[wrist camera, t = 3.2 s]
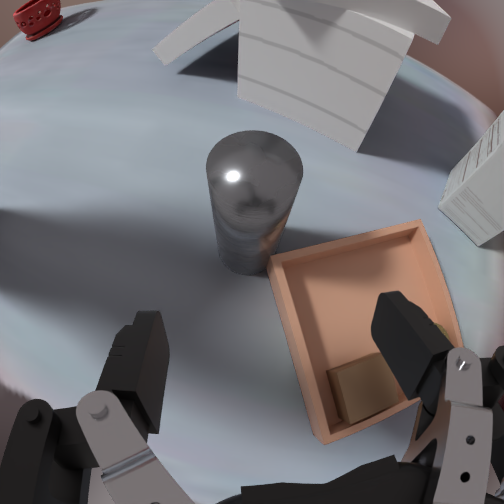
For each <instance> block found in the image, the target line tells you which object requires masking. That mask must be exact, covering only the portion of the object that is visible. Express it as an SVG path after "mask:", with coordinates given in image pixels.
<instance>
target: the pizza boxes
mask: <svg viewBox="0 0 504 504" xmlns="http://www.w3.org/2000/svg"><path fill="white" fill-rule="evenodd" d="M450 20H451V17H450V16H449V15H448V14H447V13H446V12H445V11H444V10H442V9H441V8H440V7H439V6H438V5H437V4H436V3H435V2H434V1H433V0H214V1H212V2H211V3H209V4H208V5H207V6H205V7H204V8H202V9H201V10H200V11H198V12H197V13H195V14H194V15H193V16H191V17H190V18H189V19H188V20H186V21H185V22H184V23H182V24H181V25H180V26H179V27H177V28H176V29H175V30H174V31H173V32H171V33H170V34H169V35H168V36H167V37H165V38H164V39H163V40H162V41H161V42H160V43H159V44H157V45H156V46H155V47H154V48H153V49H152V51H153V52H154V53H155V54H156V55H157V57H158V58H159V59H160V60H161V61H162V63H163V64H164V65H165V66H166V65H168V64H169V63H171V62H172V61H174V60H175V59H176V58H178V57H179V56H181V55H182V54H184V53H185V52H187V51H188V50H190V49H191V48H193V47H195V46H196V45H198V44H199V43H201V42H203V41H204V40H206V39H208V38H209V37H211V36H213V35H214V34H216V33H218V32H220V31H221V30H223V29H225V28H227V27H229V26H230V25H232V24H234V23H236V22H238V21H239V49H238V87H237V97H238V98H241V99H243V100H246V101H249V102H251V103H254V104H256V105H259V106H261V107H263V108H266V109H268V110H271V111H273V112H275V113H278V114H280V115H282V116H284V117H287V118H289V119H291V120H293V121H295V122H298V123H300V124H302V125H304V126H306V127H308V128H310V129H312V130H314V131H316V132H318V133H320V134H322V135H324V136H326V137H328V138H330V139H332V140H334V141H336V142H338V143H340V144H342V145H343V146H345V147H347V148H349V149H351V150H353V151H354V152H357V150H358V148H359V147H360V145H361V143H362V141H363V139H364V137H365V135H366V133H367V131H368V129H369V128H370V126H371V124H372V122H373V120H374V118H375V116H376V114H377V112H378V110H379V108H380V106H381V104H382V102H383V100H384V98H385V96H386V94H387V92H388V90H389V88H390V86H391V84H392V82H393V80H394V78H395V76H396V74H397V72H398V70H399V68H400V66H401V64H402V61H403V59H404V57H405V55H406V53H407V51H408V48H409V47H410V44H411V42H412V40H413V37H414V34H416V35H418V36H421V37H423V38H425V39H427V40H429V41H431V42H433V43H435V44H437V45H438V44H439V42H440V40H441V38H442V36H443V34H444V32H445V30H446V28H447V26H448V24H449V22H450Z"/></svg>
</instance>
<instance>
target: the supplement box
mask: <svg viewBox="0 0 504 504" xmlns="http://www.w3.org/2000/svg"><path fill="white" fill-rule="evenodd" d="M438 208H439V209H440V210H441V211H442V212H443V213H444V214H445V215H446V216H448V217H449V218H450V219H451V220H452V221H453V222H454V223H455V224H456V225H457V226H458V227H459V228H460V229H461V230H462V231H463V232H464V233H465V234H466V235H467V236H468V237H469V238H470V239H471V240H472V241H473V242H474V243H475V244H476V245H477V246H480V245H482V244H483V243H485V242H487V241H488V240H490V239H491V238H493V237H495V236H496V235H498V234H499V233H501V232H502V231H504V111H503V112H502V113H501V114H500V116H499V117H498V118H497V119H496V120H495V122H494V123H493V124H492V125H491V126H490V128H489V129H488V130H487V131H486V132H485V134H484V135H483V136H482V137H481V138H480V140H479V141H478V142H477V143H476V144H475V145H474V146H473V147H472V148H471V150H470V151H469V152H468V153H467V154H466V155H465V156H464V157H463V158H462V159H461V160H460V161H459V163H458V164H457V165H456V166H455V167H454V168H453V169H452V170H451V171H450V174H449V177H448V180H447V183H446V186H445V189H444V192H443V195H442V197H441V200H440V203H439V206H438Z"/></svg>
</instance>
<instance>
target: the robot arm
mask: <svg viewBox="0 0 504 504" xmlns="http://www.w3.org/2000/svg"><path fill="white" fill-rule="evenodd" d="M371 336H372V339H373V341H374V342H375V344H376V346H377V347H378V349H379V351H380V352H381V354H382V356H383V357H384V359H385V361H386V363H387V364H388V366H389V368H390V369H391V371H392V373H393V375H394V376H395V378H396V380H397V382H398V383H399V385H400V387H401V389H402V390H403V392H404V394H405V396H406V398H407V399H408V401H410V400H413V399H415V398H418V397H420V399H421V400H422V401H421V403H420V404H419V407H418V411H417V416H416V421H415V425H414V429H413V433H412V437H411V441H410V444H409V447H408V449H407V451H406V453H405V455H404V457H403V459H402V461H401V462H397V461H396V458H395V456H394V455H391V456H389V457H386V458H383V459H380V460H377V461H374V462H371V463H368V464H364V465H361V466H359V467H357V468H356V469H354V470H352V471H350V472H348V473H346V474H344V475H342V476H341V477H339V478H337V479H335V480H332V481H330V482H328V483H325V484H300V483H283V482H282V483H274V484H265V485H255V486H241V494H239V495H235V496H232V497H230V498H227V499H224V500H222V501H220V502H218V503H216V504H504V411H503V410H502V408H501V407H500V405H499V403H498V400H499V399H500V398H501V396H502V395H503V394H504V346H500V347H498V348H497V349H496V351H495V353H494V355H493V356H492V358H479V357H478V356H477V355H476V354H475V353H474V352H473V351H471V350H469V349H467V348H463V347H457V348H455V347H454V346H453V345H452V344H451V342H450V341H449V340H448V339H447V338H446V336H445V335H444V334H443V333H442V332H441V330H440V329H439V328H438V327H437V326H436V325H434V322H433V321H432V320H431V319H430V318H428V315H427V314H426V313H425V312H424V311H423V309H422V308H421V307H419V306H417V305H416V304H414V303H413V302H411V301H408V299H407V298H406V297H405V296H404V295H403V294H402V293H401V292H400V291H391V292H383V293H380V294H379V296H378V299H377V303H376V308H375V312H374V315H373V319H372V323H371ZM169 355H170V354H169V344H168V340H167V336H166V332H165V328H164V325H163V321H162V317H161V313H160V312H159V311H138V312H137V314H136V317H135V320H134V322H133V325H125V326H124V327H123V328H122V329H121V330H120V331H119V332H118V333H117V335H116V337H115V339H114V342H113V344H112V348H111V349H110V352H109V357H107V360H106V363H105V365H104V368H103V371H102V374H101V376H100V379H99V382H98V385H97V388H96V390H95V391H93V392H90V393H88V394H87V395H85V396H84V397H83V398H82V399H81V400H80V401H79V403H78V405H77V406H76V407H70V408H63V409H55V410H53V409H52V407H51V406H50V405H49V404H48V403H47V402H46V401H44V400H41V399H33V400H30V401H28V402H26V403H25V404H24V405H23V406H22V407H21V408H20V410H19V412H18V414H17V417H16V419H15V422H14V425H13V428H12V430H11V433H10V436H9V440H8V443H7V446H6V449H5V452H4V456H3V459H2V463H1V467H0V504H87V503H88V492H89V484H90V476H91V469H92V468H95V467H100V468H101V469H102V472H103V475H101V478H102V481H103V483H104V485H105V487H106V489H107V491H108V492H109V494H110V496H111V497H112V499H113V501H114V502H115V504H195V503H194V502H193V501H192V500H191V499H190V497H189V496H188V495H187V494H186V493H185V492H184V491H183V489H182V488H181V487H180V486H179V485H178V484H177V482H176V481H175V480H174V479H173V478H172V476H171V475H170V474H169V473H168V471H167V470H166V469H165V468H164V466H163V465H162V464H161V462H160V461H159V460H158V458H157V457H156V456H155V454H154V453H153V452H152V450H151V449H150V448H149V446H148V445H147V439H148V433H151V434H159V428H160V419H161V412H162V404H163V397H164V390H165V383H166V377H167V370H168V364H169ZM490 462H491V464H492V466H493V468H494V470H495V473H496V475H497V477H498V480H499V482H500V484H501V487H500V488H499V489H498V490H497V491H496V493H495V496H493V495H490V494H488V493H486V489H487V483H488V477H489V469H490Z"/></svg>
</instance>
